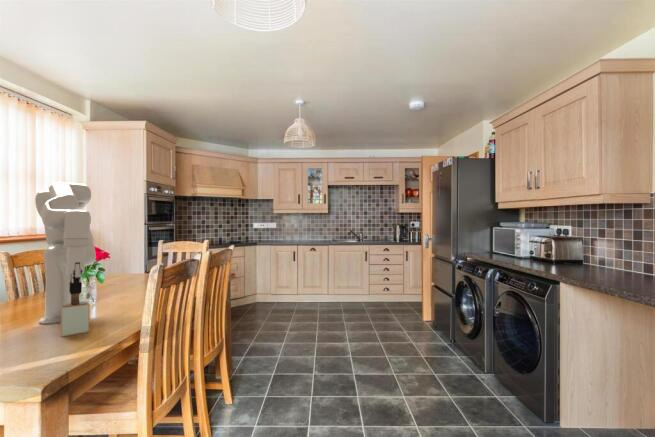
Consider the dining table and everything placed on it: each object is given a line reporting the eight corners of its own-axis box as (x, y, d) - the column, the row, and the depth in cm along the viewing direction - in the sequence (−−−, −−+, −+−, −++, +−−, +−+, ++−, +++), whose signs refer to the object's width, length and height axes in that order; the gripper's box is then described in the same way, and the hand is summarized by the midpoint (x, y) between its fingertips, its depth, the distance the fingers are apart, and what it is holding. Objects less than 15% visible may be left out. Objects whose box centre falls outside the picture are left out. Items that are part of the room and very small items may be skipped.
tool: (62, 309, 115) (63, 271, 115) (86, 306, 120) (87, 269, 120) (62, 312, 112) (64, 273, 112) (87, 308, 117) (88, 271, 117)
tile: (60, 336, 111) (61, 307, 112) (88, 331, 116) (89, 303, 117) (60, 336, 110) (61, 307, 111) (89, 331, 115) (89, 304, 116)
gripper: (62, 242, 120) (60, 290, 119) (65, 245, 108) (63, 298, 108) (86, 241, 125) (85, 288, 124) (92, 244, 113) (90, 295, 113)
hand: (75, 292), depth 116 cm, fingers closed on tool, 2 cm apart
